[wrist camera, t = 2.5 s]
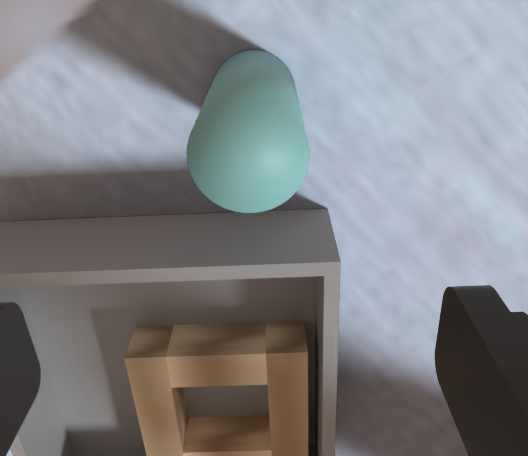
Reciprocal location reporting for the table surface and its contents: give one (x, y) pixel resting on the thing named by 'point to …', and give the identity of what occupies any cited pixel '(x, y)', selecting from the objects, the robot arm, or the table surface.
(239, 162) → the peg
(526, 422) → the robot arm
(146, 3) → the table surface
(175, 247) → the open box
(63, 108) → the table surface
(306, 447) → the bore block
